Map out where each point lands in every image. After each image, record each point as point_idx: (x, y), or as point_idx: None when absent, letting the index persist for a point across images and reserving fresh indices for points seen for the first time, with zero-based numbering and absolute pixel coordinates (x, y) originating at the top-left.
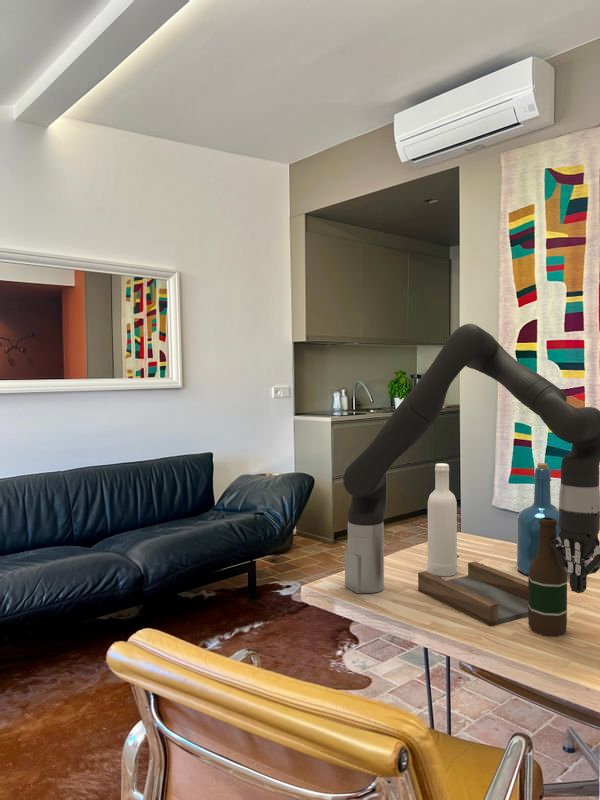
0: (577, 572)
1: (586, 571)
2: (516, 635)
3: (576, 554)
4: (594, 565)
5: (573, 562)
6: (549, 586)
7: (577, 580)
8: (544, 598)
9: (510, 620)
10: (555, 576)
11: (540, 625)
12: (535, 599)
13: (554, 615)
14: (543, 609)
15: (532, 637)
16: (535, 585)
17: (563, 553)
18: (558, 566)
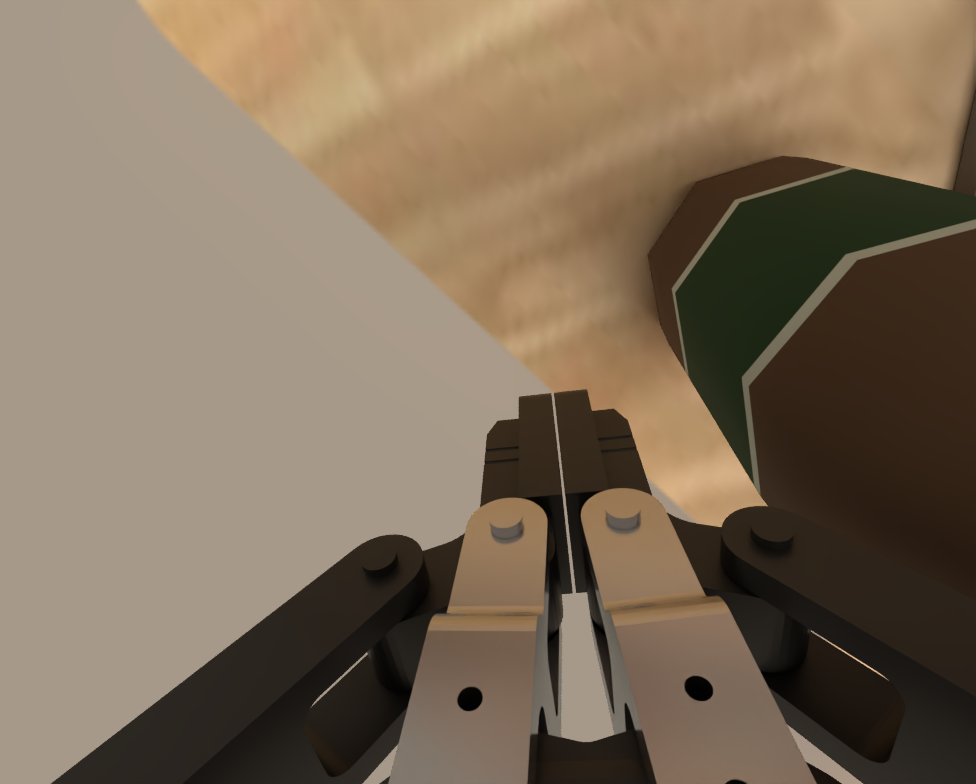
0: (503, 518)
1: (365, 574)
2: (789, 6)
3: (490, 779)
4: (178, 695)
5: (607, 622)
6: (804, 302)
7: (519, 463)
8: (783, 230)
9: (967, 132)
10: (815, 402)
11: (732, 180)
12: (858, 193)
13: (688, 264)
14: (752, 206)
15: (712, 96)
16: (945, 218)
17: (910, 722)
18: (883, 528)
